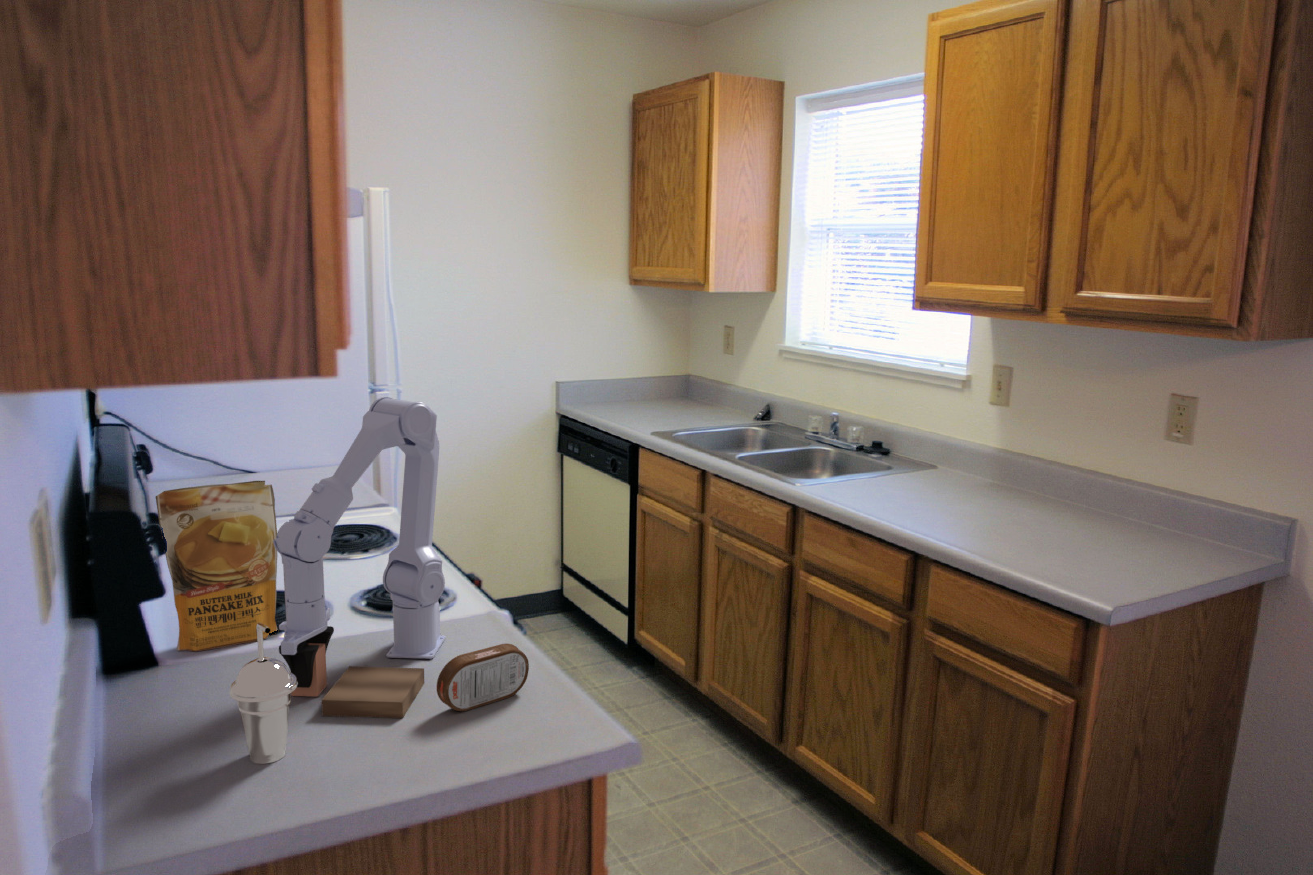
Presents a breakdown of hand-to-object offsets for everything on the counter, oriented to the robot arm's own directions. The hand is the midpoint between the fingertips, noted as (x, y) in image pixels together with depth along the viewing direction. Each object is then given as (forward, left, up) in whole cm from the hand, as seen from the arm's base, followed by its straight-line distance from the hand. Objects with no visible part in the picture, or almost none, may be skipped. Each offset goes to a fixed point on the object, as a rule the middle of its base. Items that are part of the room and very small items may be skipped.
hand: (309, 680), depth 148 cm
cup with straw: (+20, +2, -2) cm, 20 cm away
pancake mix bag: (-19, -22, -2) cm, 29 cm away
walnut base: (+2, +11, -2) cm, 11 cm away
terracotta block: (0, 0, -2) cm, 2 cm away
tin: (+2, +28, -2) cm, 28 cm away
